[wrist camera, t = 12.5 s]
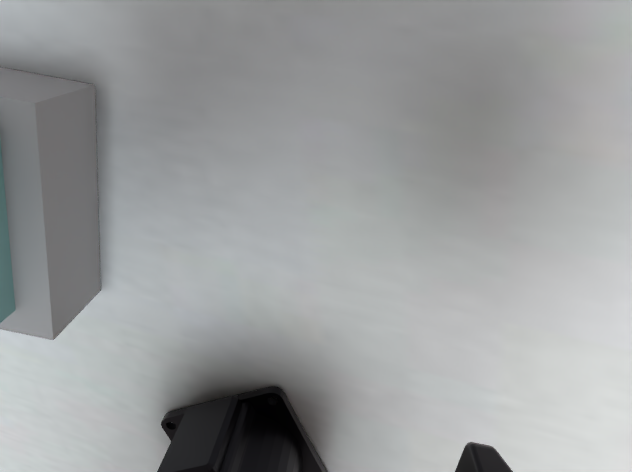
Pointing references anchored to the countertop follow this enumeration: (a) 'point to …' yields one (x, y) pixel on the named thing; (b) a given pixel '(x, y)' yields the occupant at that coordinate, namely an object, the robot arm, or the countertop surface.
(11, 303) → the teal block
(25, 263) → the slate block
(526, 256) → the countertop surface
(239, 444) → the robot arm
